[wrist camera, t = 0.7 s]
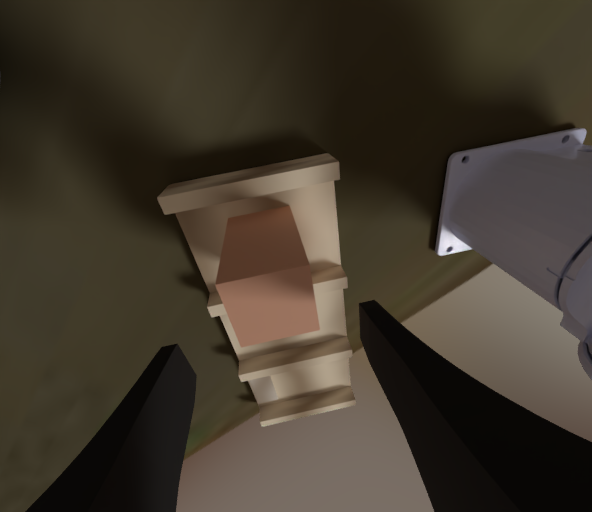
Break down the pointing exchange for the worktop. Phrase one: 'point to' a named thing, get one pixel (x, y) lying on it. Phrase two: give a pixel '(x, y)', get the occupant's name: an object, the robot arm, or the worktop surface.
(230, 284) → the block
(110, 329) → the worktop surface
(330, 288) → the notched rack
